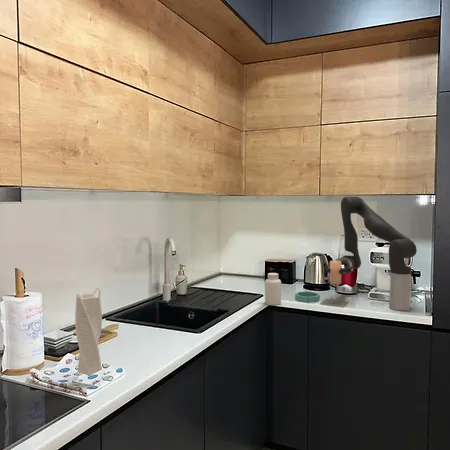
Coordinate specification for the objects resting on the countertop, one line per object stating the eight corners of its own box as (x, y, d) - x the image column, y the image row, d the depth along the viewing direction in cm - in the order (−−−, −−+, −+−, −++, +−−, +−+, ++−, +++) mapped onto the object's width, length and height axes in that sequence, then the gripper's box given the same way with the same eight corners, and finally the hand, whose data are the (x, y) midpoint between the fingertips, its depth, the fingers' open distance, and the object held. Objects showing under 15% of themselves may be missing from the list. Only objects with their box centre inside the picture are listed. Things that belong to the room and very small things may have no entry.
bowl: (322, 299, 224) (322, 293, 224) (314, 304, 214) (315, 298, 214) (300, 296, 230) (300, 290, 230) (292, 301, 220) (292, 295, 220)
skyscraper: (110, 377, 131) (108, 285, 129) (95, 388, 123) (93, 291, 121) (85, 374, 133) (83, 284, 131) (69, 385, 125) (67, 289, 123)
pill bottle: (261, 303, 216) (261, 273, 215) (271, 300, 222) (272, 271, 221) (274, 306, 211) (274, 275, 210) (284, 303, 216) (284, 273, 215)
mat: (349, 303, 217) (349, 301, 217) (343, 308, 207) (343, 307, 207) (326, 300, 223) (326, 298, 223) (319, 305, 213) (319, 304, 213)
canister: (342, 282, 215) (342, 260, 214) (339, 284, 210) (339, 262, 210) (331, 281, 218) (331, 260, 217) (328, 283, 213) (328, 261, 212)
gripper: (329, 258, 229) (319, 262, 215) (357, 260, 222) (349, 264, 207) (329, 272, 230) (319, 277, 215) (357, 274, 223) (348, 280, 208)
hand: (334, 271), depth 211 cm, fingers closed on canister, 5 cm apart
